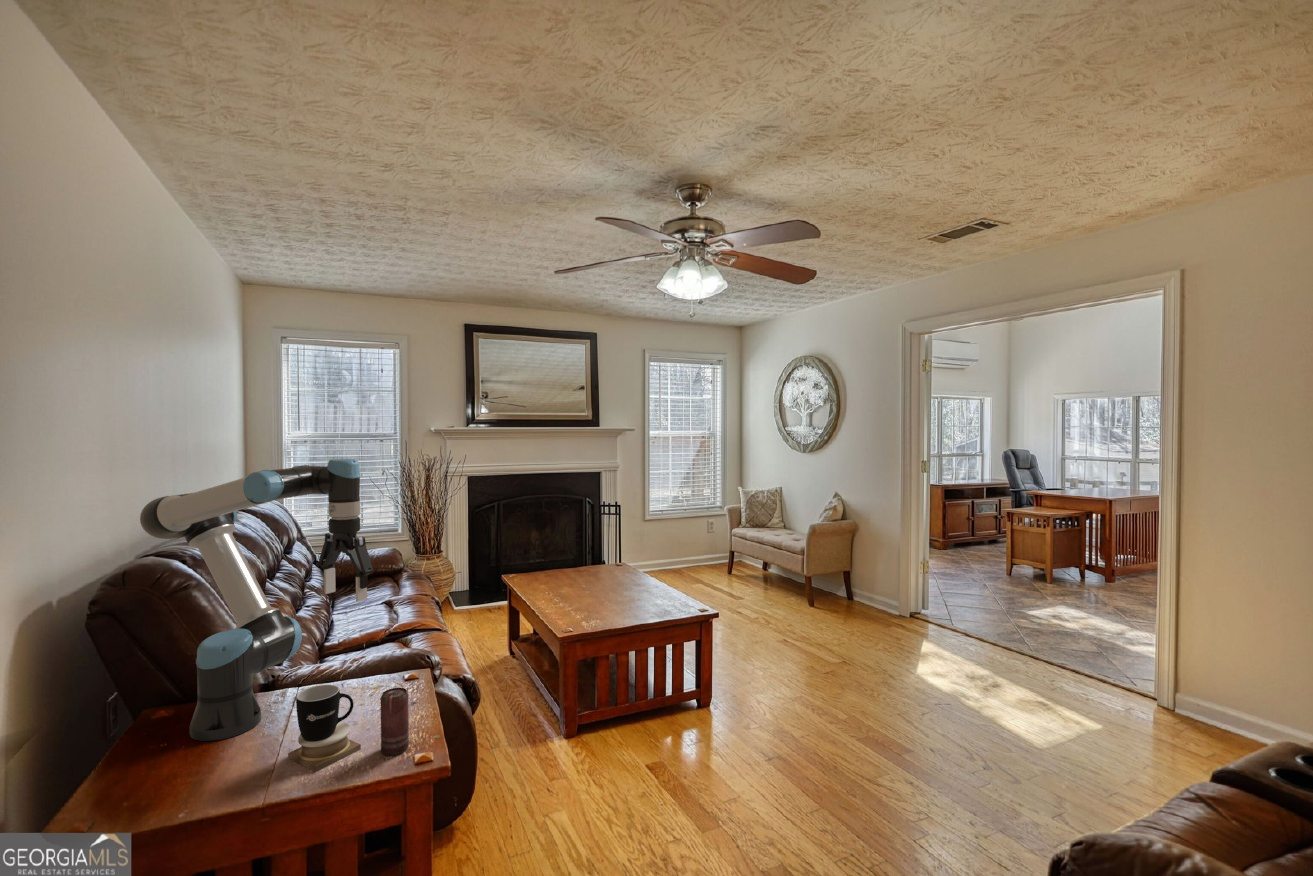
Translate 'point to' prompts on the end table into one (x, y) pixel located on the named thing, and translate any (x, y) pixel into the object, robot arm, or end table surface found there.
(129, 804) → the end table surface
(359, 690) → the end table surface
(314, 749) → the stand
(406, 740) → the can
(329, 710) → the mug
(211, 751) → the end table surface
